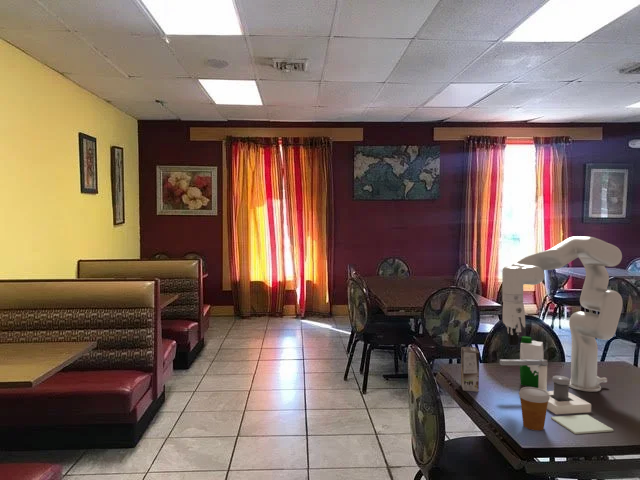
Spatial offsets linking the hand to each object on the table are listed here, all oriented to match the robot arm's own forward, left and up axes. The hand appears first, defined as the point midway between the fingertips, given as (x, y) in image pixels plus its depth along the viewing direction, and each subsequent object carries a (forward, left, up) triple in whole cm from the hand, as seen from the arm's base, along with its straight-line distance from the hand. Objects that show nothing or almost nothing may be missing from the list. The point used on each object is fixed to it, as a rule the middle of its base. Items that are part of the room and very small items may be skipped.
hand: (513, 344), depth 180 cm
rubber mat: (-10, +26, -21) cm, 35 cm away
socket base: (-14, +7, -21) cm, 26 cm away
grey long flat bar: (-6, -2, -9) cm, 11 cm away
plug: (-14, +10, -21) cm, 27 cm away
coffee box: (+11, -13, -21) cm, 27 cm away
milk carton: (-17, -13, -21) cm, 30 cm away
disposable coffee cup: (+8, +25, -21) cm, 34 cm away
